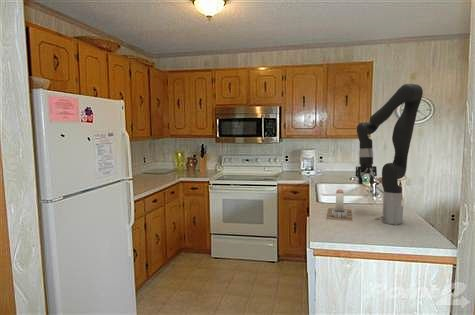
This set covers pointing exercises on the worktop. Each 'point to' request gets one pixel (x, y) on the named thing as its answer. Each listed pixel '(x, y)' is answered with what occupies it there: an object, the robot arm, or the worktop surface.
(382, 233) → the worktop surface
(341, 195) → the cylinder
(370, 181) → the robot arm
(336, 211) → the socket collar
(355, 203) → the worktop surface
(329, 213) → the jig board
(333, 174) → the worktop surface
